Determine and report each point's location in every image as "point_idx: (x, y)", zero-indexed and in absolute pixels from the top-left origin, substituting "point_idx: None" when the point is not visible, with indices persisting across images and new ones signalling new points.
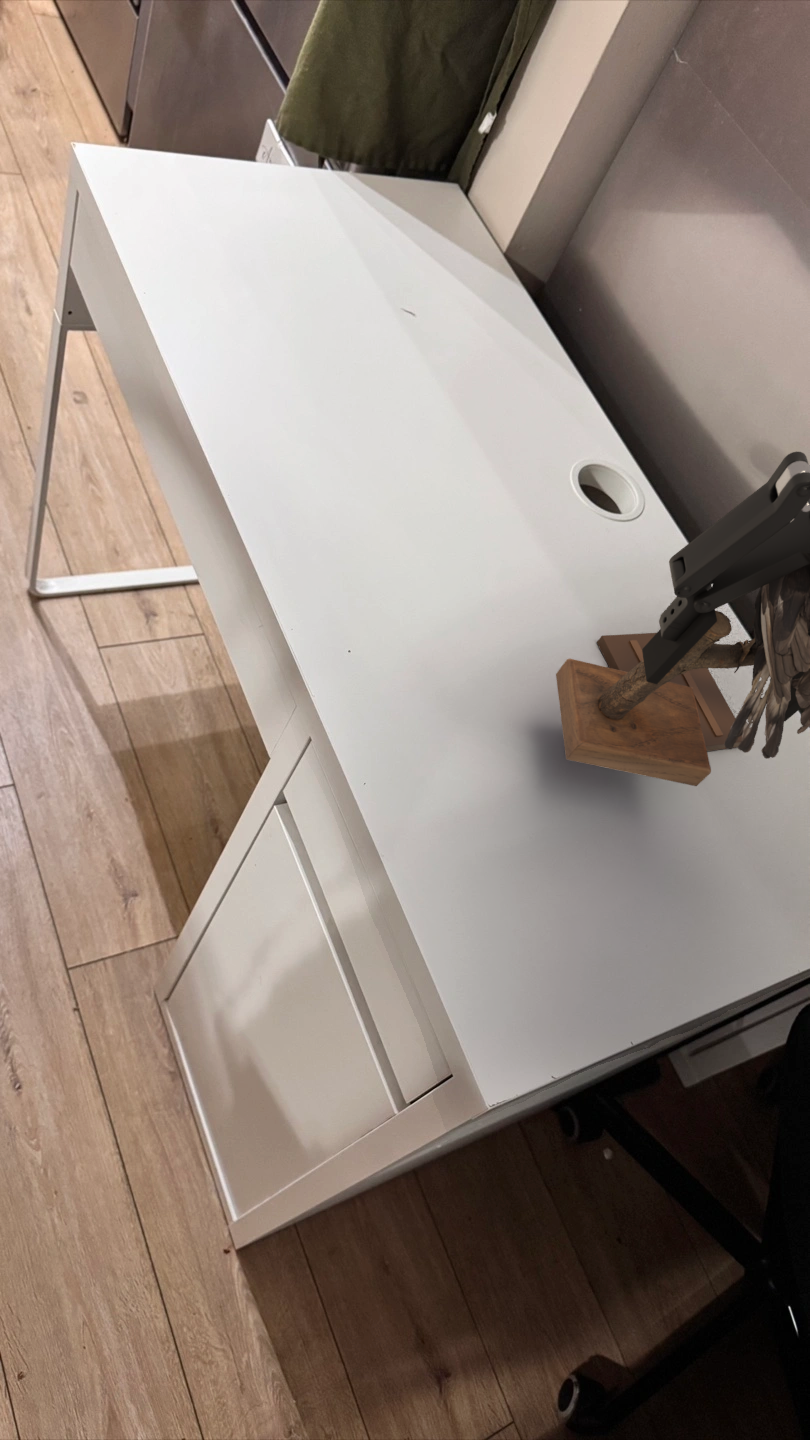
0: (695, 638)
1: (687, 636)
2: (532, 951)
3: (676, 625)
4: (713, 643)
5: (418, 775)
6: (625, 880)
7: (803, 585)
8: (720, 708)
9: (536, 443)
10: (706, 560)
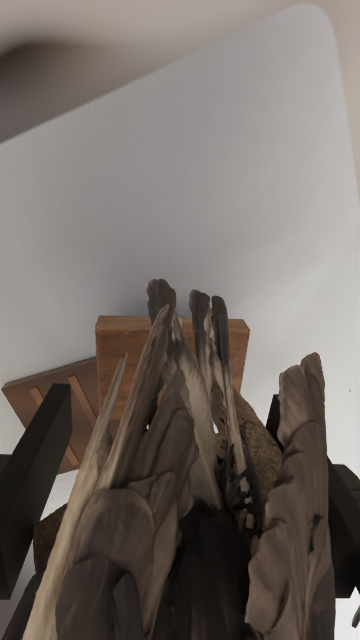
0: (329, 481)
1: (341, 480)
2: (253, 149)
3: (358, 495)
4: (266, 480)
5: (320, 300)
6: (147, 232)
7: None
8: (28, 413)
9: None
10: None
